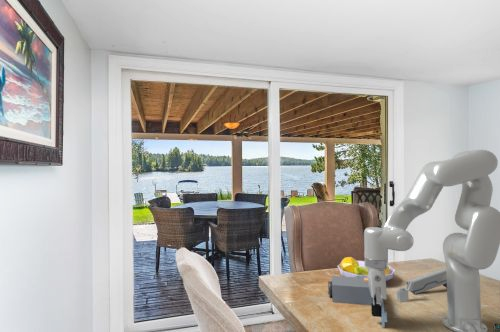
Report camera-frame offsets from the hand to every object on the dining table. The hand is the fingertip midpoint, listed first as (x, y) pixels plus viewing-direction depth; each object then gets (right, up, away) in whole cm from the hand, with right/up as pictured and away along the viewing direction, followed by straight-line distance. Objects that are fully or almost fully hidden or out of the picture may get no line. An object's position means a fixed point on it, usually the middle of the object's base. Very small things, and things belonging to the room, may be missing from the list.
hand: (376, 315), depth 110 cm
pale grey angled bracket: (+20, -3, +19) cm, 28 cm away
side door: (+5, -3, +5) cm, 8 cm away
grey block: (0, -4, +23) cm, 23 cm away
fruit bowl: (+12, -4, +45) cm, 47 cm away
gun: (+37, -4, +28) cm, 47 cm away
